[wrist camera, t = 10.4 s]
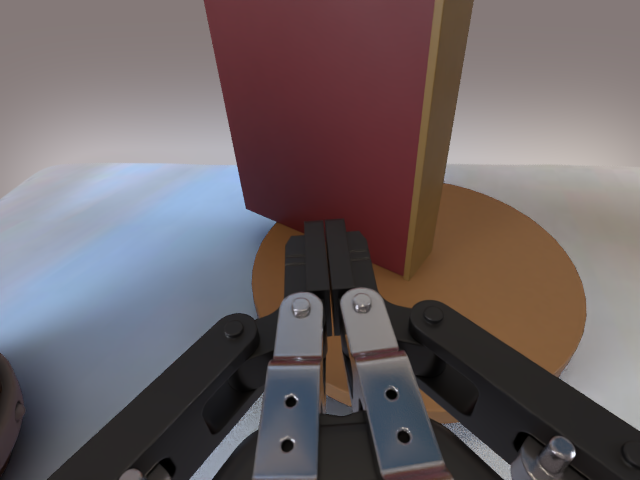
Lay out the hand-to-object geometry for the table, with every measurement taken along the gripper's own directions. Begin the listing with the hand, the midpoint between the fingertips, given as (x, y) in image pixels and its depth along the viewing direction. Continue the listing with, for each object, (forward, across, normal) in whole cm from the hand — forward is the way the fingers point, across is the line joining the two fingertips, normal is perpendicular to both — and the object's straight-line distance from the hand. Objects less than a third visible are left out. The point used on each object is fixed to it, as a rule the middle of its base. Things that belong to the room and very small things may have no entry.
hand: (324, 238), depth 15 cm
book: (+8, -4, +9) cm, 13 cm away
